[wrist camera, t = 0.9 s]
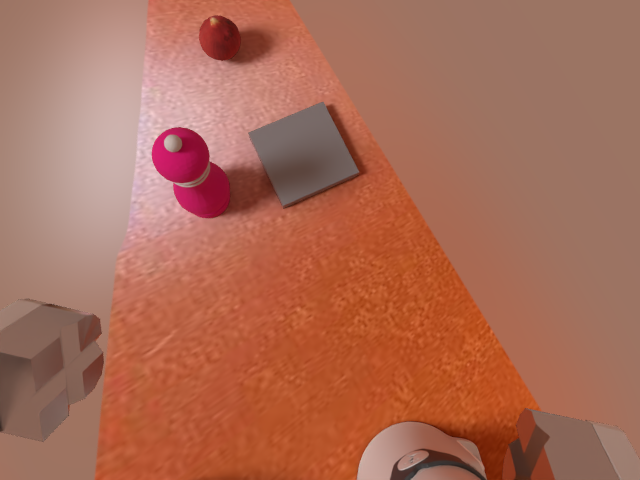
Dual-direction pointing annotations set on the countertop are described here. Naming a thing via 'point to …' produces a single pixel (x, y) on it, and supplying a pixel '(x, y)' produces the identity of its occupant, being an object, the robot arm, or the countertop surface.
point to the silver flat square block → (303, 154)
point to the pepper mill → (191, 172)
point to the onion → (219, 38)
